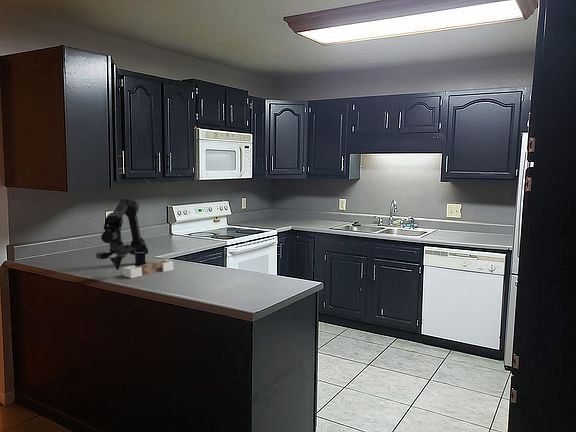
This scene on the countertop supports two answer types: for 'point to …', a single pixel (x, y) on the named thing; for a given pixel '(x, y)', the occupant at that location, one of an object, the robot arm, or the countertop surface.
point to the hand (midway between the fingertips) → (117, 269)
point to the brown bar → (152, 267)
